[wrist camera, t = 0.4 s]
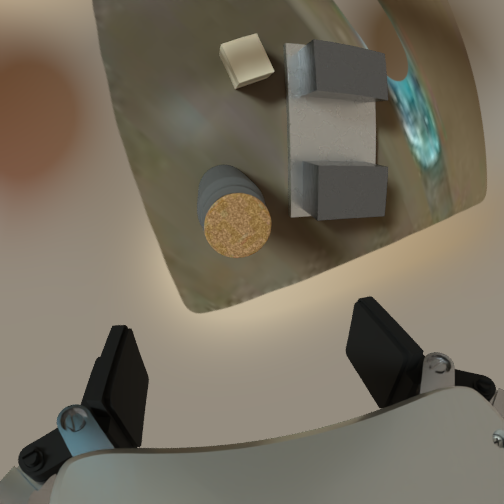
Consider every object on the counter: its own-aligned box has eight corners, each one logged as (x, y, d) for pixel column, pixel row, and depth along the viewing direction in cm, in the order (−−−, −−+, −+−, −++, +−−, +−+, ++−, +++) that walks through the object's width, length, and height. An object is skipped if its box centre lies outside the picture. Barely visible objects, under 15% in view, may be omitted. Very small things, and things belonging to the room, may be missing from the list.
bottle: (235, 156, 32) (260, 171, 18) (255, 199, 34) (291, 245, 21) (190, 177, 32) (180, 208, 18) (211, 220, 34) (218, 278, 21)
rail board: (283, 45, 27) (299, 29, 21) (368, 57, 29) (393, 49, 23) (288, 215, 36) (304, 230, 30) (368, 210, 37) (392, 223, 32)
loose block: (219, 54, 27) (221, 44, 23) (250, 44, 26) (256, 33, 23) (235, 89, 29) (239, 83, 25) (266, 78, 29) (274, 71, 25)
